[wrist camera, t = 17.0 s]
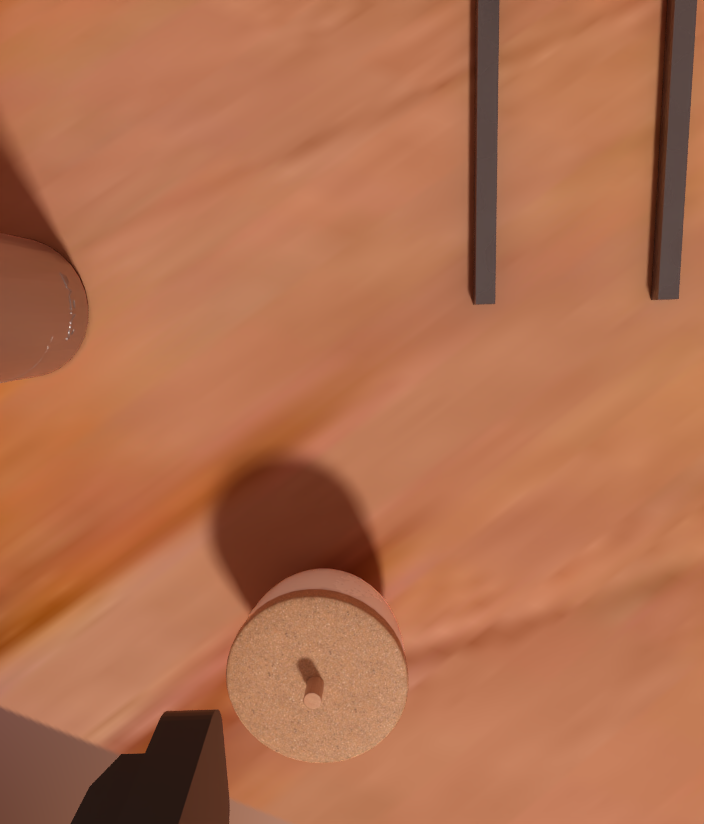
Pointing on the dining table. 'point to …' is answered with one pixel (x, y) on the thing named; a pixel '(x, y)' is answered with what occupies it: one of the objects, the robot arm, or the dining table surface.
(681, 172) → the track
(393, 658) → the lidded jar
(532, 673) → the dining table surface
